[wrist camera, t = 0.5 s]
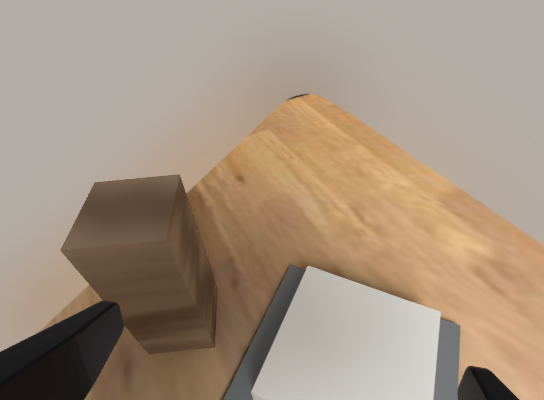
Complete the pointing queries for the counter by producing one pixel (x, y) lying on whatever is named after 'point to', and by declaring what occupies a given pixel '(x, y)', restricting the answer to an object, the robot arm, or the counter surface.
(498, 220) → the counter surface
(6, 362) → the robot arm
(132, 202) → the walnut pillar block
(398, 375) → the build board
